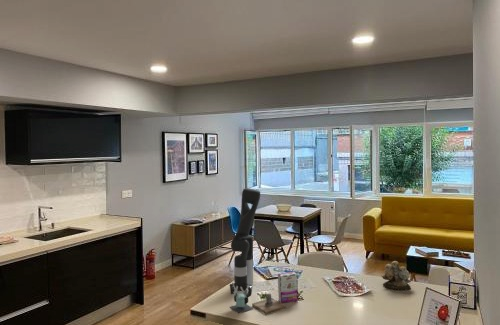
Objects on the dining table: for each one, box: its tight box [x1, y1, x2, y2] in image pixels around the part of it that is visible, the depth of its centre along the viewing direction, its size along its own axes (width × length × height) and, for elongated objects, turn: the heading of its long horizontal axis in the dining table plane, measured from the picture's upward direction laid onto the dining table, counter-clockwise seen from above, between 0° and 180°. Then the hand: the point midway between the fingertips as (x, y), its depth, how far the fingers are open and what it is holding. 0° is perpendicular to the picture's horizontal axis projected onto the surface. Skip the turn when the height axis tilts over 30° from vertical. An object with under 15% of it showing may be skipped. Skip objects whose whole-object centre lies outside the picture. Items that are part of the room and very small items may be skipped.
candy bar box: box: [277, 271, 299, 304], centre depth 226 cm, size 11×5×16 cm, turn 105°
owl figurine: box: [381, 260, 412, 291], centre depth 244 cm, size 18×12×17 cm, turn 79°
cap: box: [235, 293, 248, 307], centre depth 216 cm, size 6×6×6 cm
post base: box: [251, 293, 287, 315], centre depth 217 cm, size 14×14×8 cm
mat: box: [229, 304, 254, 314], centre depth 216 cm, size 10×10×1 cm
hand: (241, 302), depth 216 cm, fingers closed on cap, 6 cm apart
